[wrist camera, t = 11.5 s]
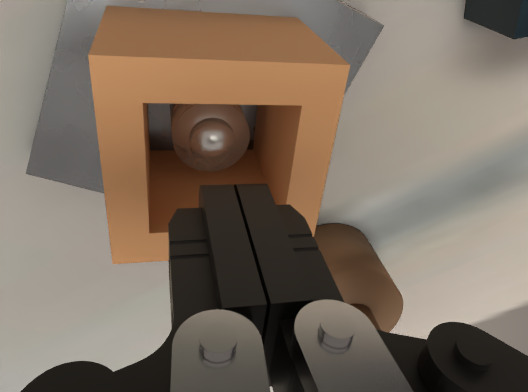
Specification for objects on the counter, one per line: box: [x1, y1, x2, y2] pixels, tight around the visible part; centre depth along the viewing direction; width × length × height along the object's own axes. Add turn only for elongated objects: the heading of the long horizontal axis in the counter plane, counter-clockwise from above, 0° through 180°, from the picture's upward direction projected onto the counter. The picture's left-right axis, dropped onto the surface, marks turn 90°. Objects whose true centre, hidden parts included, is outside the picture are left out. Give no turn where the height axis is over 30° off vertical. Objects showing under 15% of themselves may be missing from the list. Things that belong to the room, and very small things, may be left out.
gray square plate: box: [26, 0, 384, 193], centre depth 15 cm, size 10×10×5 cm
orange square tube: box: [88, 6, 350, 264], centre depth 14 cm, size 6×6×5 cm
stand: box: [314, 224, 403, 333], centre depth 22 cm, size 6×6×7 cm
